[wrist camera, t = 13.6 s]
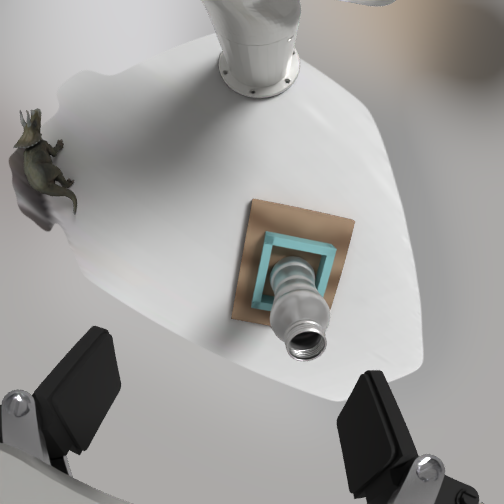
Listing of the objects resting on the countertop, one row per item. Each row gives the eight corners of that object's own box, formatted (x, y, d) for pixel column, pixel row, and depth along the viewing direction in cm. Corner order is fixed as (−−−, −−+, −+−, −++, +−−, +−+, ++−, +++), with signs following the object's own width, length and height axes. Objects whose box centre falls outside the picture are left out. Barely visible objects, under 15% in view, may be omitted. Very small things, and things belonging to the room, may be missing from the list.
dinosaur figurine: (91, 209, 43) (51, 219, 32) (63, 226, 44) (25, 239, 33) (63, 110, 38) (25, 102, 27) (38, 133, 39) (1, 130, 28)
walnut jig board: (253, 198, 41) (251, 201, 37) (352, 219, 41) (361, 224, 37) (232, 314, 47) (228, 327, 42) (320, 329, 47) (325, 342, 42)
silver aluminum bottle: (314, 287, 43) (343, 365, 24) (272, 294, 44) (274, 377, 24) (309, 249, 41) (342, 309, 22) (266, 256, 42) (264, 322, 23)
